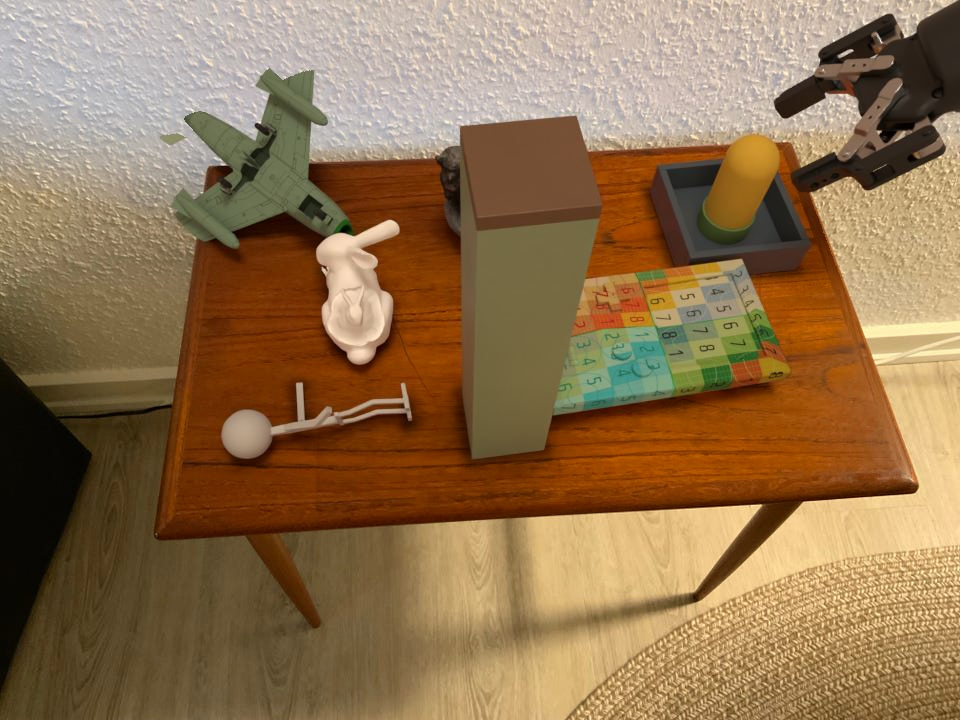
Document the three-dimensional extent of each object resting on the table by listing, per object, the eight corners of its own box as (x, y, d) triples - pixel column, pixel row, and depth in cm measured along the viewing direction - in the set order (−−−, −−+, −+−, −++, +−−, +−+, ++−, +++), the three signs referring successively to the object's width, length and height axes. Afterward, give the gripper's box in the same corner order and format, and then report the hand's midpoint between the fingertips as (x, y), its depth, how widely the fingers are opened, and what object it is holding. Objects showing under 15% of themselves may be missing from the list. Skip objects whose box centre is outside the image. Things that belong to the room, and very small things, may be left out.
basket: (795, 270, 70) (812, 245, 67) (679, 283, 69) (690, 258, 66) (756, 180, 76) (769, 153, 72) (648, 191, 75) (657, 164, 71)
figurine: (397, 342, 58) (203, 377, 57) (410, 417, 56) (211, 455, 55) (402, 365, 64) (227, 397, 62) (414, 434, 62) (234, 468, 61)
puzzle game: (524, 282, 63) (745, 252, 65) (520, 312, 67) (728, 283, 69) (554, 403, 58) (796, 366, 60) (548, 428, 62) (774, 392, 64)
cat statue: (561, 208, 73) (574, 131, 65) (561, 265, 70) (574, 192, 61) (441, 200, 74) (438, 123, 65) (435, 257, 70) (430, 183, 61)
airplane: (330, 236, 63) (379, 267, 73) (343, -9, 67) (388, 51, 76) (104, 253, 70) (176, 279, 80) (127, 30, 73) (193, 81, 83)
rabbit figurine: (321, 265, 69) (301, 195, 61) (401, 255, 70) (392, 184, 62) (331, 377, 63) (310, 316, 55) (418, 364, 64) (411, 302, 56)
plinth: (544, 450, 61) (603, 204, 35) (471, 459, 60) (476, 217, 34) (531, 386, 64) (576, 114, 37) (462, 394, 63) (459, 125, 37)
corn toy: (755, 241, 71) (799, 160, 61) (705, 247, 70) (741, 166, 61) (739, 202, 73) (779, 118, 64) (690, 207, 73) (723, 123, 63)
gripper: (962, -64, 54) (752, 62, 64) (1027, 68, 47) (780, 187, 57) (990, 5, 59) (790, 112, 69) (1052, 134, 52) (820, 233, 62)
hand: (786, 146), depth 63 cm, fingers open, 8 cm apart
